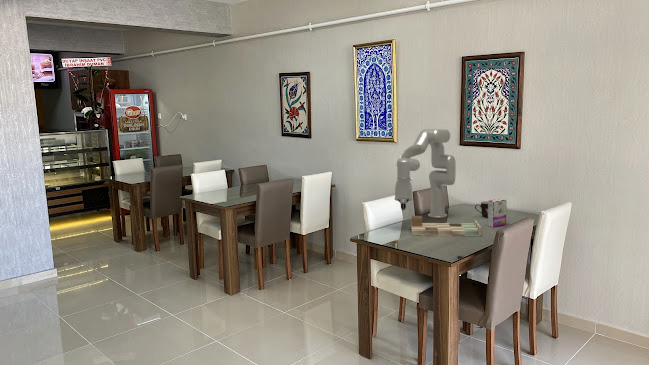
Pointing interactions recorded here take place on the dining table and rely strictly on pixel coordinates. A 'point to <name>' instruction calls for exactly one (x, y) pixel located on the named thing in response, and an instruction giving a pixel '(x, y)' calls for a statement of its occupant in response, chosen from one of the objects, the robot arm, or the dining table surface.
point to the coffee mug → (484, 209)
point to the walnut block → (416, 220)
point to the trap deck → (447, 229)
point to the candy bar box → (497, 212)
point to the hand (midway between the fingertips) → (403, 209)
